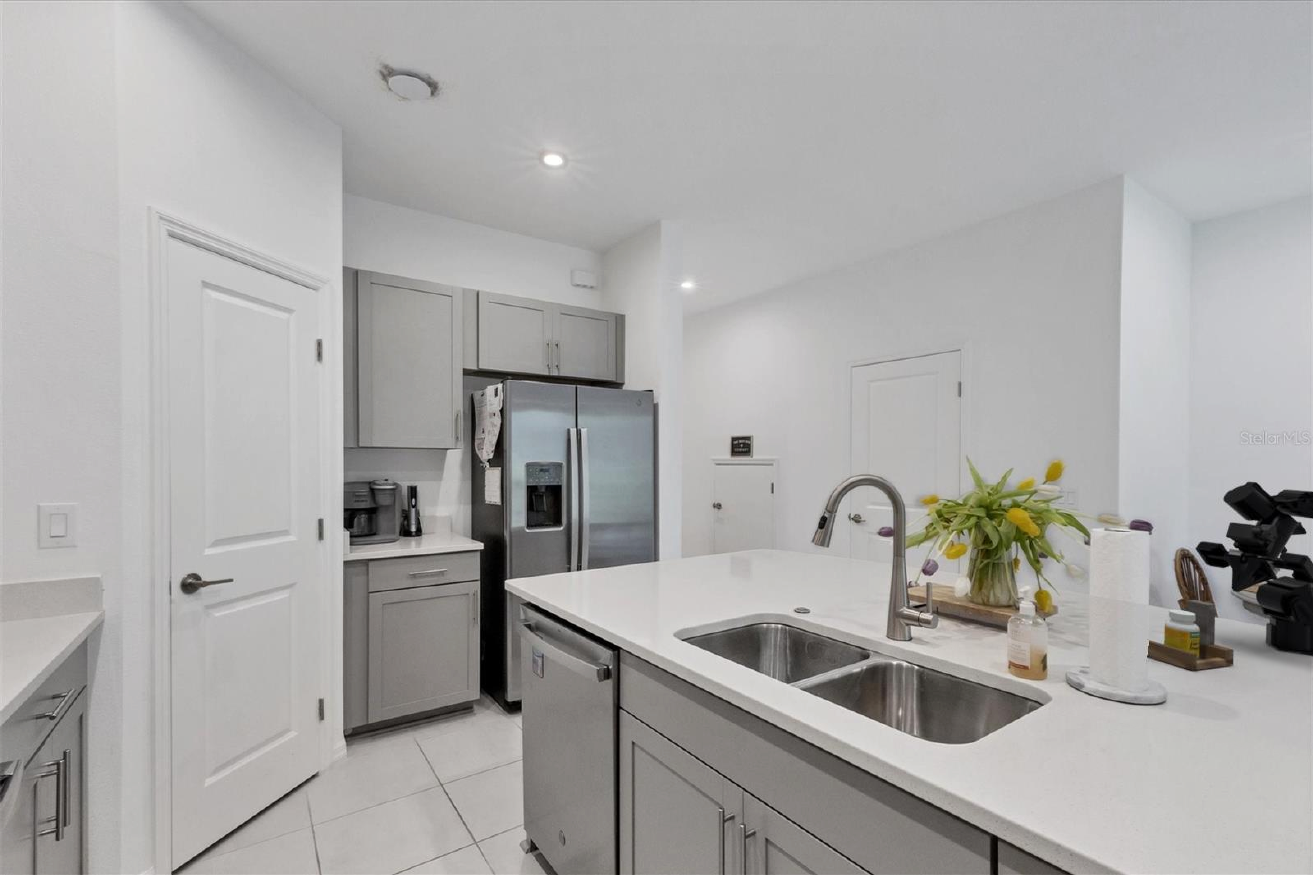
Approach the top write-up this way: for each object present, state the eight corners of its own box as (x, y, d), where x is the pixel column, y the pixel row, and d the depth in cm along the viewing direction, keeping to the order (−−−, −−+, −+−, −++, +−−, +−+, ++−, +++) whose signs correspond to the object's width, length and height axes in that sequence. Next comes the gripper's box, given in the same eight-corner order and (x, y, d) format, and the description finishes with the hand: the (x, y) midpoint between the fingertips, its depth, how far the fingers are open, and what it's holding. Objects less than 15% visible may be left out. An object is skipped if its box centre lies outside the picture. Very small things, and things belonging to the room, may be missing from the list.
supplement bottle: (1169, 653, 126) (1170, 607, 126) (1203, 662, 122) (1204, 613, 122) (1159, 658, 123) (1160, 610, 124) (1193, 666, 119) (1194, 617, 119)
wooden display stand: (1176, 648, 130) (1177, 596, 130) (1233, 664, 120) (1234, 608, 120) (1136, 652, 126) (1137, 599, 126) (1192, 670, 116) (1193, 612, 116)
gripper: (1201, 505, 139) (1166, 555, 135) (1310, 515, 121) (1273, 573, 117) (1224, 539, 141) (1191, 589, 137) (1334, 553, 123) (1299, 612, 120)
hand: (1234, 590), depth 128 cm, fingers closed
